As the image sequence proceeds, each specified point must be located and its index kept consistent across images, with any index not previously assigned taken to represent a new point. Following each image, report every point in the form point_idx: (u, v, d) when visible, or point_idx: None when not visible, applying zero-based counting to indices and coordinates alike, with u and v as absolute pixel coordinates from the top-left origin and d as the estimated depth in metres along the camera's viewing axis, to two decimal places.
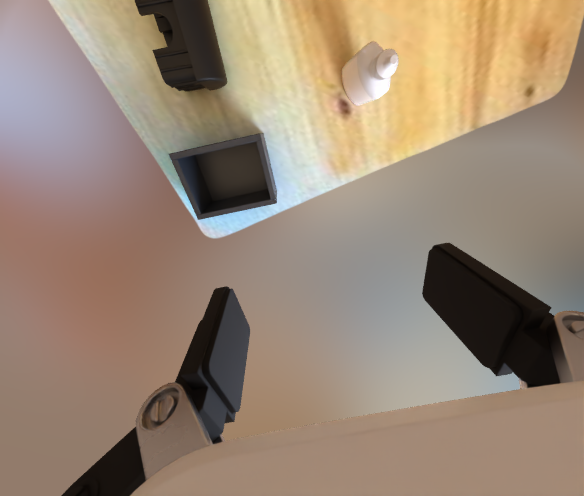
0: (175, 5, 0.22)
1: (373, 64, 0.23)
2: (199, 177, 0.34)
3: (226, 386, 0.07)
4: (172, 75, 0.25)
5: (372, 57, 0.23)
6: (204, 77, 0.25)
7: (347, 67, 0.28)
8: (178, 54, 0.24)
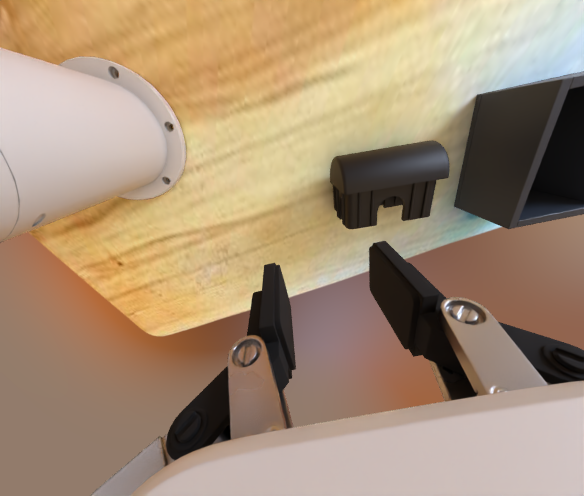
0: (383, 187, 0.19)
1: None
2: None
3: (288, 344, 0.08)
4: (428, 205, 0.21)
5: None
6: (447, 166, 0.19)
7: None
8: (413, 194, 0.21)
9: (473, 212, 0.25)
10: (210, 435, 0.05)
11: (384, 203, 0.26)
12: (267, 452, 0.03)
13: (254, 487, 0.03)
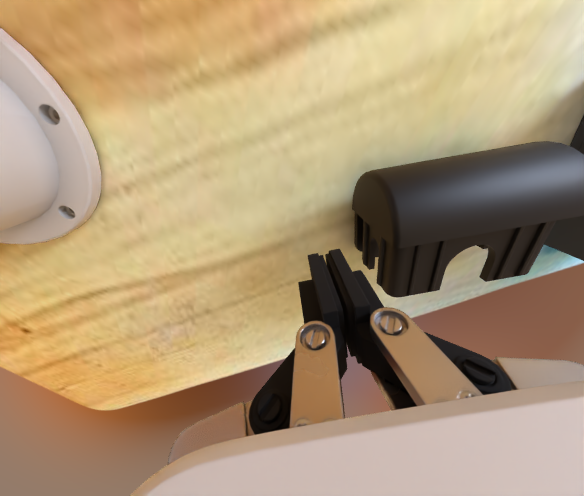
0: (469, 233, 0.10)
1: None
2: None
3: None
4: (533, 257, 0.12)
5: None
6: None
7: None
8: (515, 241, 0.11)
9: (573, 253, 0.16)
10: None
11: None
12: (267, 452, 0.03)
13: (254, 487, 0.03)
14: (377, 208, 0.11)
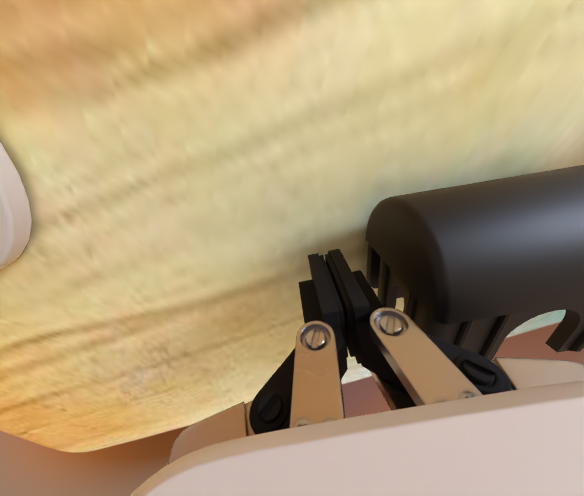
0: (558, 303, 0.06)
1: None
2: None
3: None
4: None
5: None
6: None
7: None
8: None
9: None
10: None
11: None
12: (267, 452, 0.03)
13: (254, 487, 0.03)
14: (407, 254, 0.07)
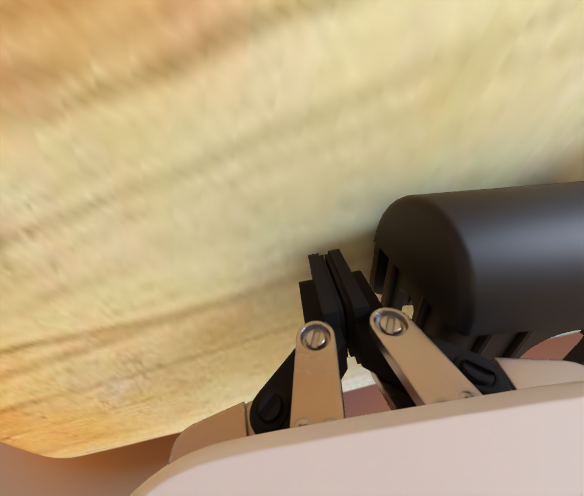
0: None
1: None
2: None
3: None
4: None
5: None
6: None
7: None
8: None
9: None
10: None
11: None
12: (267, 452, 0.03)
13: (254, 487, 0.03)
14: (426, 257, 0.07)
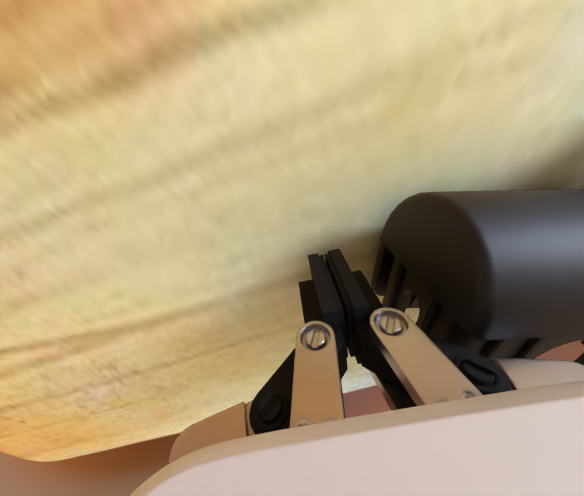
0: None
1: None
2: None
3: None
4: None
5: None
6: None
7: None
8: None
9: None
10: None
11: None
12: (267, 452, 0.03)
13: (254, 487, 0.03)
14: (440, 256, 0.07)
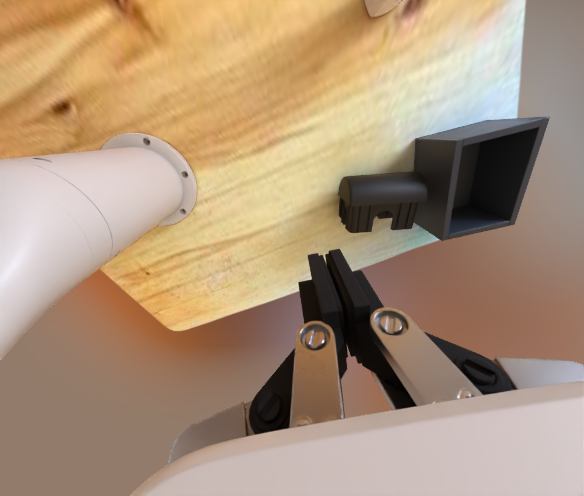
0: (378, 203, 0.26)
1: None
2: None
3: None
4: (411, 220, 0.28)
5: None
6: (426, 193, 0.26)
7: (387, 2, 0.20)
8: (401, 211, 0.27)
9: (422, 226, 0.32)
10: None
11: (378, 215, 0.32)
12: (267, 452, 0.03)
13: (254, 487, 0.03)
14: (346, 191, 0.27)
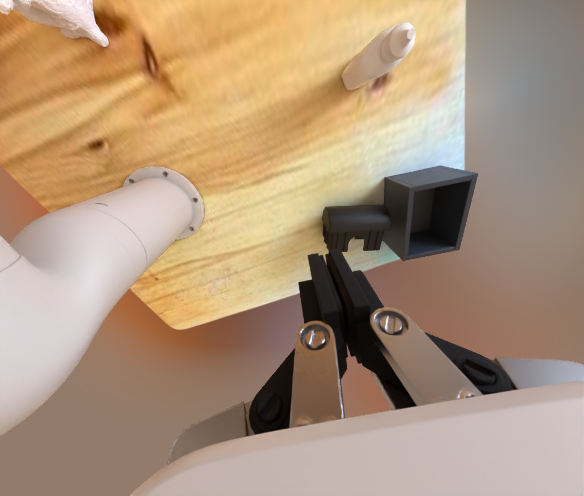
0: (352, 230, 0.33)
1: (394, 59, 0.20)
2: (410, 238, 0.39)
3: None
4: (379, 243, 0.35)
5: (378, 60, 0.21)
6: (389, 224, 0.33)
7: (358, 86, 0.26)
8: (370, 236, 0.34)
9: (390, 247, 0.39)
10: None
11: (355, 236, 0.39)
12: (267, 452, 0.03)
13: (254, 487, 0.03)
14: (327, 219, 0.34)
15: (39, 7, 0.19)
